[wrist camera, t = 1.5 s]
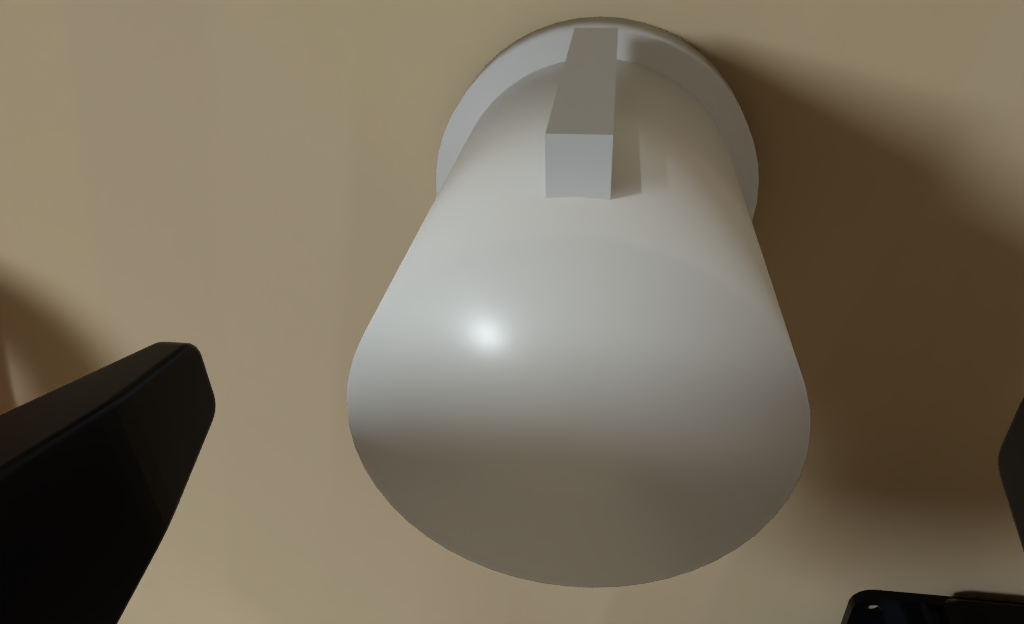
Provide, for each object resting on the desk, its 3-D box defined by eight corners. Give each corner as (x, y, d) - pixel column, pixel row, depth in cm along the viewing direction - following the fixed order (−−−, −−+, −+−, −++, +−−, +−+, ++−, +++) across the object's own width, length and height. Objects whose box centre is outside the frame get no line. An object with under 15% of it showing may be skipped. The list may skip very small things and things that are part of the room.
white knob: (728, 307, 14) (798, 629, 8) (458, 295, 15) (350, 586, 9) (776, 1, 11) (937, 175, 5) (434, 4, 12) (252, 161, 6)
